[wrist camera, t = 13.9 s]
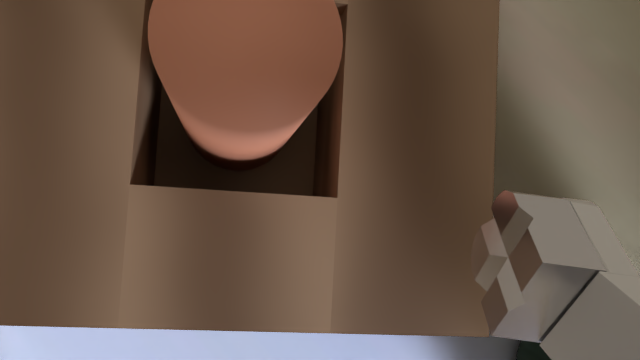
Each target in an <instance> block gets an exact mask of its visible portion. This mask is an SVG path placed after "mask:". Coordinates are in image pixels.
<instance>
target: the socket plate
mask: <svg viewBox="0 0 640 360" xmlns="http://www.w3.org/2000/svg"><path fill="white" fill-rule="evenodd" d="M334 2H335V4H336V7H337V9H338V12H339V16H340V20H341V25H342V32H343V48H342V56H341V61H340V65H339V69H338V71H337V74H336V76H335V79H334V81H333V83H332V84H331V86H330V88H329V89H328V91H327V92H326V94H325V95H324V96H323V98H322V99H321V100H320V101H319V103H318V104H317V105H316V106H315V108H314V109H313V110H312V111H311V112H310V114H309V115H308V116H307V117H306V119H305V120H304V121H303V122H302V124H301V125H300V126H299V127H298V129H297V130H296V131H295V132H294V133H293V135H292V136H291V137H290V138H289V140H288V141H287V142H286V143H285V145H284V146H283V147H282V148H281V150H280V151H279V152H278V153H277V154H276V155H275V156H274V157H273V158H272V159H271V160H269V161H268V162H267V163H265V164H263V165H261V166H259V167H257V168H253V169H250V170H243V171H234V170H227V169H223V168H220V167H218V166H215V165H213V164H212V163H210V162H208V161H207V160H206V159H204V158H203V157H202V156H201V155H200V154H199V153H198V152H197V151H196V149H195V148H194V147H193V145H192V143H191V142H190V140H189V137H188V135H187V133H186V131H185V129H184V127H183V125H182V123H181V121H180V119H179V117H178V115H177V113H176V111H175V109H174V107H173V105H172V103H171V100H170V98H169V96H168V94H167V92H166V90H165V88H164V86H163V84H162V82H161V80H160V78H159V76H158V74H157V71H156V69H155V66H154V64H153V61H152V58H151V54H150V50H149V43H148V20H149V14H150V9H151V6H152V3H153V0H0V325H7V326H48V327H90V328H132V329H173V330H215V331H257V332H299V333H340V334H382V335H424V336H465V337H489V327H488V324H487V320H486V317H485V314H484V310H483V307H482V303H481V301H482V299H483V297H484V296H485V294H486V291H485V290H484V289H483V288H482V287H481V286H480V285H479V284H478V283H477V282H476V281H475V279H474V275H473V271H472V268H471V251H472V245H473V240H474V238H475V236H476V234H477V232H478V230H479V228H480V226H482V225H483V224H485V223H487V222H488V221H490V220H492V219H493V212H492V209H491V206H492V205H493V192H494V160H495V128H496V96H497V64H498V32H499V0H334Z"/></svg>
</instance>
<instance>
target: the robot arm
mask: <svg viewBox="0 0 640 360" xmlns="http://www.w3.org/2000/svg"><path fill="white" fill-rule="evenodd" d="M491 209H492V212H493V215H494V218H493V219H492V220H490V221H488V222H487V223H485V224H483V225H482V226H480V228H479V230H478V232H477V234H476V236H475V238H474V240H473V245H472V251H471V268H472V271H473V275H474V279H475V281H476V282H477V283H478V284H479V285H480V286H481V287H482V288H483V289H484V290H485V291H486V294H485V296H484V297H483V299H482V301H481V303H482V307H483V310H484V314H485V317H486V320H487V324H488V327H489V331H490V334H491V336H494V337H501V338H509V339H516V340H523V341H531V342H538V343H541V344H540V347H541V348H542V349H543V350H544V351H545V353H546V354H547V355H548V356H549V357H550V359H551V360H640V276H639V274H638V273H637V271H636V269H635V267H634V266H633V264H632V262H631V261H630V259H629V257H628V255H627V254H626V252H625V250H624V249H623V247H622V245H621V243H620V242H619V240H618V238H617V237H616V235H615V233H614V231H613V230H612V228H611V226H610V225H609V223H608V221H607V219H606V218H605V216H604V214H603V213H602V211H601V209H600V207H599V206H597V205H596V204H595V203H593V202H592V201H587V200H579V199H571V198H556V197H549V196H542V195H536V194H529V193H522V192H515V191H508V190H504V191H503V192H502V193H500V194H499V195H498V196H497V198H496V199H495V201H494V203H493V205H492V206H491Z"/></svg>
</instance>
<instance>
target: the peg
mask: <svg viewBox="0 0 640 360" xmlns="http://www.w3.org/2000/svg"><path fill="white" fill-rule="evenodd" d="M148 43H149V50H150V54H151V58H152V61H153V64H154V66H155V69H156V71H157V74H158V76H159V78H160V80H161V82H162V84H163V86H164V88H165V90H166V92H167V94H168V96H169V98H170V100H171V103H172V105H173V107H174V109H175V111H176V113H177V115H178V117H179V119H180V121H181V123H182V125H183V127H184V129H185V131H186V133H187V135H188V137H189V140H190V142H191V143H192V145H193V147H194V148H195V149H196V151H197V152H198V153H199V154H200V155H201V156H202V157H203V158H204V159H206V160H207V161H208V162H210V163H212V164H213V165H215V166H218V167H220V168H223V169H227V170H234V171H243V170H250V169H253V168H257V167H259V166H261V165H263V164H265V163H267V162H268V161H269V160H271V159H272V158H273V157H274V156H275V155H276V154H277V153H278V152H279V151H280V150H281V148H282V147H283V146H284V145H285V143H286V142H287V141H288V140H289V138H290V137H291V136H292V135H293V133H294V132H295V131H296V130H297V129H298V127H299V126H300V125H301V124H302V122H303V121H304V120H305V119H306V117H307V116H308V115H309V114H310V112H311V111H312V110H313V109H314V108H315V106H316V105H317V104H318V103H319V101H320V100H321V99H322V98H323V96H324V95H325V94H326V92H327V91H328V89H329V88H330V86H331V84H332V83H333V81H334V79H335V76H336V74H337V71H338V69H339V65H340V61H341V56H342V48H343V32H342V25H341V20H340V16H339V12H338V9H337V7H336V4H335V2H334V0H153V3H152V6H151V9H150V14H149V20H148Z"/></svg>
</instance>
